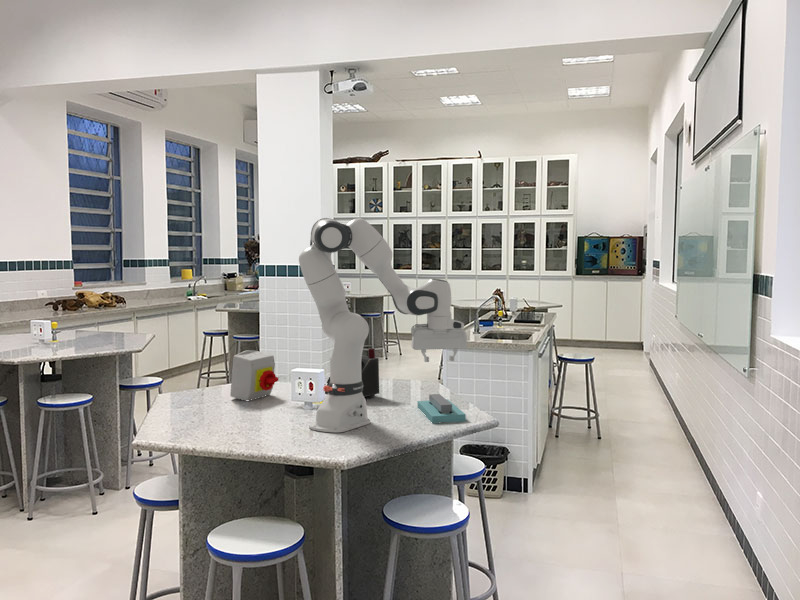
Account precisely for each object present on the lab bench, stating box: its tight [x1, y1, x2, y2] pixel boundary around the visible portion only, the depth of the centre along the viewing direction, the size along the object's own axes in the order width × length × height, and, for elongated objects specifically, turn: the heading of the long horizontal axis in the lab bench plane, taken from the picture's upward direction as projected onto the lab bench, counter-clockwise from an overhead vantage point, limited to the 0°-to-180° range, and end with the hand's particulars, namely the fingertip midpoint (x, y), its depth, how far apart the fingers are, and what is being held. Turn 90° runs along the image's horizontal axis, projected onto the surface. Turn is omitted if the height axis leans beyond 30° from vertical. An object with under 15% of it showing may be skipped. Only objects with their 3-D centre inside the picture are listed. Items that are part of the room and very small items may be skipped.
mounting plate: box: [417, 398, 467, 424], centre depth 233 cm, size 24×12×2 cm, turn 11°
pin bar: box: [428, 393, 452, 414], centre depth 233 cm, size 18×4×6 cm, turn 11°
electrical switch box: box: [229, 349, 279, 401], centre depth 265 cm, size 15×15×20 cm
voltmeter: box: [324, 348, 380, 398], centre depth 264 cm, size 16×16×20 cm
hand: (439, 361), depth 231 cm, fingers open, 8 cm apart
